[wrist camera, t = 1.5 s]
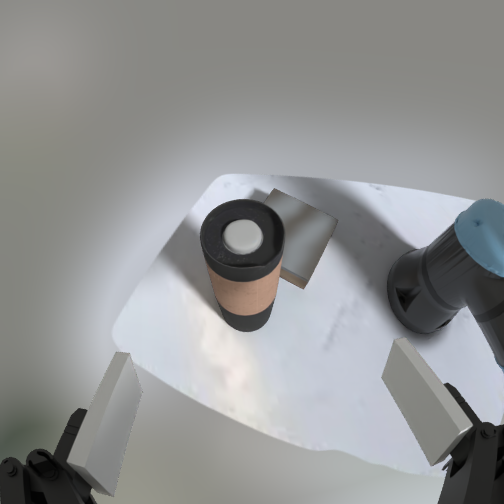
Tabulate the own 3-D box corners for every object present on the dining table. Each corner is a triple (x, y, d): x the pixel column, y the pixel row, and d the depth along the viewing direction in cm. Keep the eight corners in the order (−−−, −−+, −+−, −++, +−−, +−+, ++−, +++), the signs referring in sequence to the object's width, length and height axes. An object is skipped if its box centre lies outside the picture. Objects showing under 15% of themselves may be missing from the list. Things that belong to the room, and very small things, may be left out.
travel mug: (222, 285, 43) (203, 197, 26) (272, 286, 43) (284, 198, 26) (219, 333, 40) (193, 269, 22) (272, 334, 39) (289, 271, 22)
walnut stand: (332, 232, 48) (338, 220, 45) (303, 289, 43) (309, 280, 40) (271, 202, 50) (273, 188, 47) (237, 253, 46) (236, 242, 42)
